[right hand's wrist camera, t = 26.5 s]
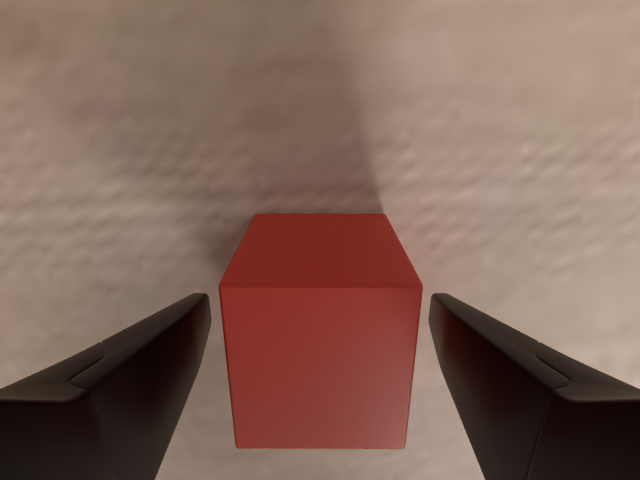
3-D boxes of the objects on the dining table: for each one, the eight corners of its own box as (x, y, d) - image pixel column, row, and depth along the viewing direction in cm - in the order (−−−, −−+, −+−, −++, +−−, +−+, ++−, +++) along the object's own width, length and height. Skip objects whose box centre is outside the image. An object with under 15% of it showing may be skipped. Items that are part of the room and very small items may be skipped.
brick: (378, 334, 14) (405, 450, 10) (262, 334, 14) (234, 450, 10) (386, 213, 13) (424, 284, 8) (254, 213, 13) (216, 284, 8)
